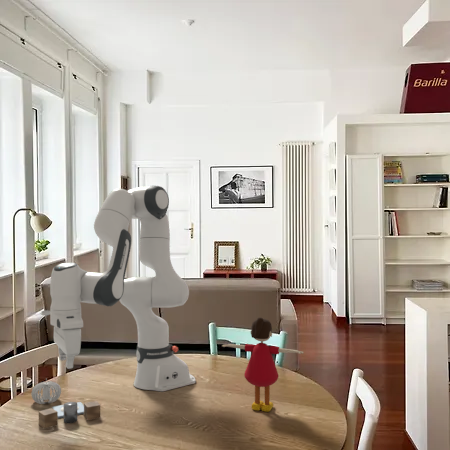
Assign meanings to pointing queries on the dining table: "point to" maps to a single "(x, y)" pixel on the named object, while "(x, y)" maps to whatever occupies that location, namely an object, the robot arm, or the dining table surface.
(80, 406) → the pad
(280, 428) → the dining table surface
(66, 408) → the metal cylinder
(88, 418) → the walnut cube
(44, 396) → the pendant light
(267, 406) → the toy
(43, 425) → the walnut cube
